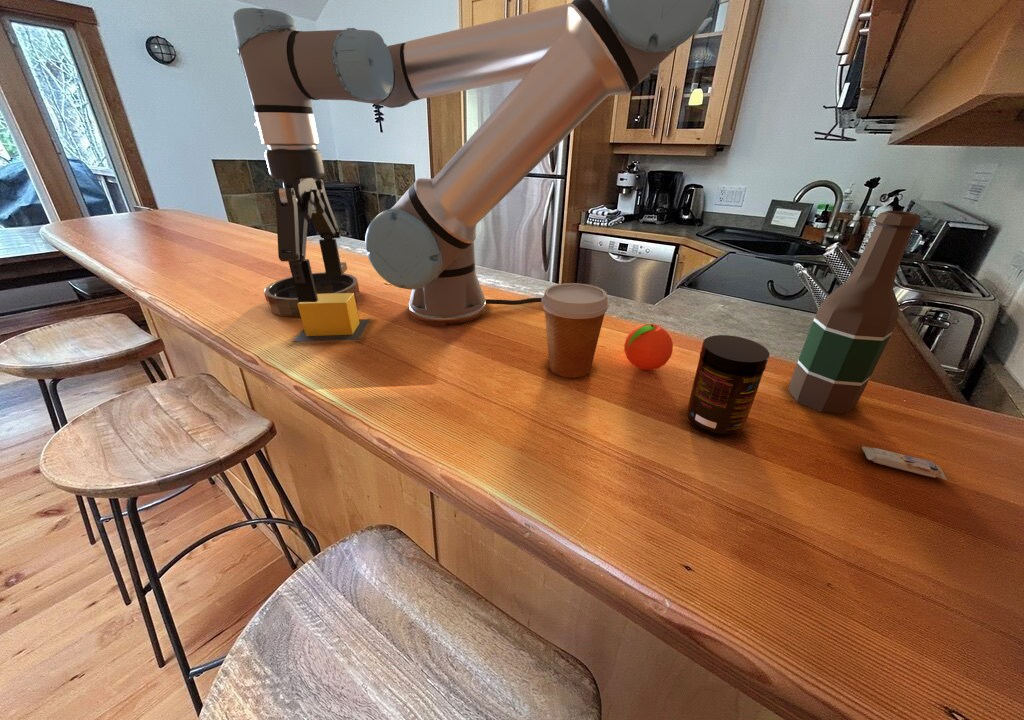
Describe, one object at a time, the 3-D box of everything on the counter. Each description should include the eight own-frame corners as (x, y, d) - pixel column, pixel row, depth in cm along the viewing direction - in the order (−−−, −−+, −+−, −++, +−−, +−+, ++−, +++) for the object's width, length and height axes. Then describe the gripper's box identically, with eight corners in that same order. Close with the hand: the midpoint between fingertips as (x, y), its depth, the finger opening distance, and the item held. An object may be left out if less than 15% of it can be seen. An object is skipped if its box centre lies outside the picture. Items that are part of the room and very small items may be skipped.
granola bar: (863, 462, 44) (867, 455, 44) (859, 449, 46) (863, 442, 46) (945, 483, 42) (950, 475, 41) (937, 469, 44) (942, 461, 43)
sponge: (359, 323, 77) (353, 292, 74) (352, 334, 72) (346, 302, 69) (315, 324, 76) (307, 293, 73) (305, 336, 72) (297, 303, 69)
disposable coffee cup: (582, 391, 57) (590, 310, 51) (526, 370, 62) (528, 294, 56) (612, 364, 64) (622, 290, 58) (559, 347, 69) (563, 278, 63)
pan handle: (347, 269, 104) (346, 262, 103) (334, 282, 94) (332, 275, 93) (336, 269, 103) (335, 262, 103) (322, 283, 94) (320, 275, 93)
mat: (370, 321, 79) (370, 319, 78) (359, 342, 71) (358, 339, 71) (311, 323, 78) (311, 320, 78) (293, 344, 70) (292, 341, 70)
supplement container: (750, 420, 51) (776, 346, 46) (735, 448, 47) (761, 368, 42) (695, 401, 55) (713, 330, 50) (676, 424, 51) (694, 349, 46)
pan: (368, 289, 95) (365, 271, 93) (348, 318, 80) (343, 298, 78) (290, 291, 94) (285, 273, 92) (254, 321, 79) (247, 300, 77)
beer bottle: (858, 423, 51) (959, 221, 39) (785, 404, 54) (859, 214, 43) (852, 393, 57) (940, 210, 45) (787, 378, 60) (852, 205, 49)
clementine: (641, 385, 58) (649, 340, 55) (606, 365, 64) (612, 323, 60) (678, 370, 62) (687, 327, 59) (643, 352, 67) (650, 312, 64)
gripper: (297, 145, 71) (323, 267, 81) (218, 150, 49) (267, 315, 59) (342, 146, 71) (362, 266, 82) (283, 150, 50) (321, 314, 60)
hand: (322, 287), depth 70 cm, fingers open, 13 cm apart
